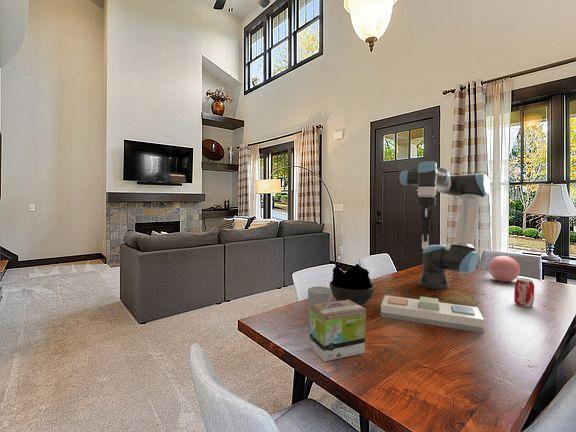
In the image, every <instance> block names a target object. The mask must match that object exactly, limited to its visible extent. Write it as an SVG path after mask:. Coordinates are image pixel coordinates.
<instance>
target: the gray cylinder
mask: <svg viewBox="0 0 576 432" xmlns="http://www.w3.org/2000/svg"><path fill="white" fill-rule="evenodd" d="M332 296H333V294H332V290H331V289H330V287H325V286H312V287H309V288H308V289H307V322H308V323H310V315H311V305H312V304H320V303H327V302H332Z"/></svg>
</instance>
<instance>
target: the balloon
mask: <svg viewBox="0 0 576 432" xmlns="http://www.w3.org/2000/svg"><path fill="white" fill-rule="evenodd" d="M487 269H488V272H489V274H490V276H491V277H492V278H494V279H495V280H497V281H499V282H504V283H507V282H508V283H509V282H512V281H514V280H517V278H519V275H520V273H521V267H520V264H519V262H518V261H517V260H516V259H514V258H513V257H511V256H509V255H497V256H495V257H493V258H492V259H491V260H490V261H489V263H488V266H487Z"/></svg>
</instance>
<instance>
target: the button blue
mask: <svg viewBox="0 0 576 432" xmlns="http://www.w3.org/2000/svg"><path fill="white" fill-rule="evenodd" d="M452 312H453V313H460V314H467V315H474V312H473V309H472V308H470V307H462V306H455V305H452Z"/></svg>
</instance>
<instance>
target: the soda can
mask: <svg viewBox="0 0 576 432" xmlns="http://www.w3.org/2000/svg"><path fill="white" fill-rule="evenodd" d="M514 282H515V284H514V292H513V293H514V295H513V296H514V297H513V300H514V304H516V305H517V306H519V307H522V308H531V307H533V306H534V301H535V283H534V280H532V279H529V278H523V277H522V278H521V277H517V278H516V281H514Z"/></svg>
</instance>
